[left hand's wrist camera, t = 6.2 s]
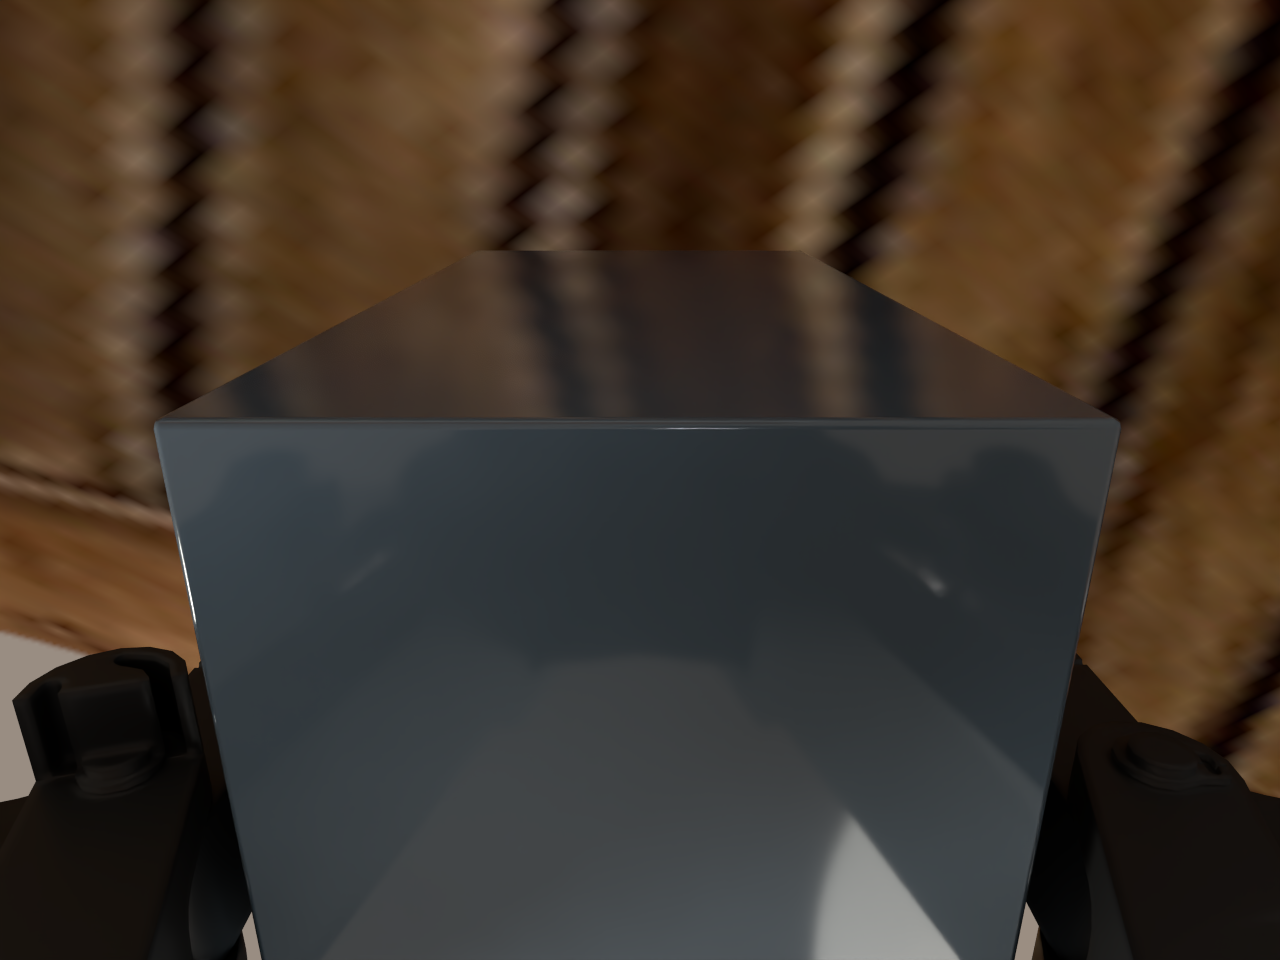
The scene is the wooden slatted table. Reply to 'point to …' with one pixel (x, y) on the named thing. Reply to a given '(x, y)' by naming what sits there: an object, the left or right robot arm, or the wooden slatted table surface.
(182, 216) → the wooden slatted table surface
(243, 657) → the brick
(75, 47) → the wooden slatted table surface
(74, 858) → the left robot arm
